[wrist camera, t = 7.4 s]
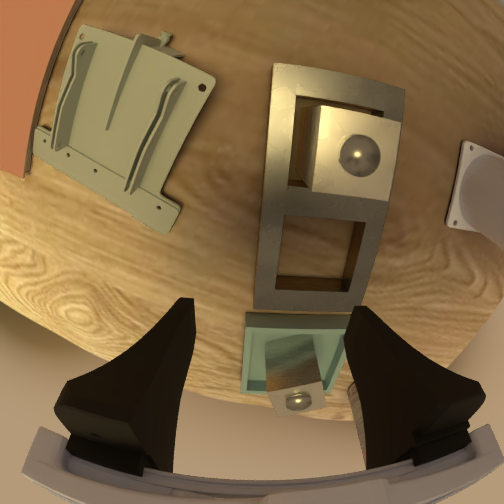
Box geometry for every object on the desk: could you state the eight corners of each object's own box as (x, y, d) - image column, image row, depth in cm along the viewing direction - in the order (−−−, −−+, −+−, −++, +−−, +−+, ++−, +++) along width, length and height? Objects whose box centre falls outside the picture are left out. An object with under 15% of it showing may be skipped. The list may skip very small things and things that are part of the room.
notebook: (33, -61, 5) (24, -65, 3) (146, -83, 8) (140, -93, 6) (-44, 142, 17) (-55, 146, 15) (34, 173, 20) (21, 179, 18)
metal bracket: (50, 10, 9) (250, 88, 12) (101, 8, 13) (264, 78, 17) (20, 173, 18) (154, 258, 21) (59, 146, 22) (180, 216, 26)
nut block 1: (310, 331, 26) (322, 384, 20) (316, 360, 28) (327, 410, 22) (264, 341, 26) (266, 396, 21) (275, 369, 28) (278, 420, 23)
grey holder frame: (392, 90, 16) (405, 89, 15) (352, 298, 25) (358, 311, 23) (271, 67, 16) (273, 62, 14) (253, 294, 24) (253, 308, 23)
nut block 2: (361, 118, 18) (404, 123, 12) (354, 177, 20) (391, 203, 14) (301, 108, 18) (323, 105, 12) (295, 169, 20) (313, 193, 14)
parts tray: (351, 315, 25) (357, 328, 24) (327, 379, 30) (330, 393, 28) (245, 312, 25) (245, 327, 23) (241, 379, 30) (240, 393, 28)
